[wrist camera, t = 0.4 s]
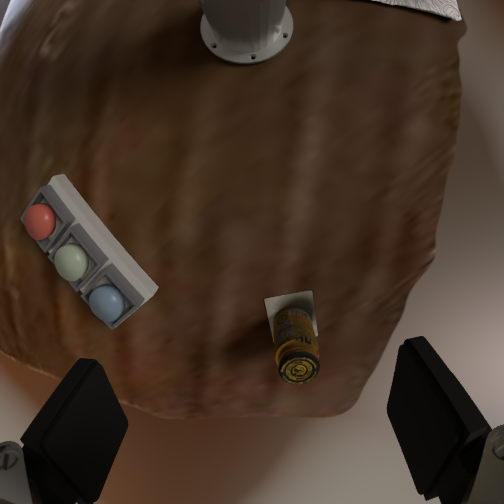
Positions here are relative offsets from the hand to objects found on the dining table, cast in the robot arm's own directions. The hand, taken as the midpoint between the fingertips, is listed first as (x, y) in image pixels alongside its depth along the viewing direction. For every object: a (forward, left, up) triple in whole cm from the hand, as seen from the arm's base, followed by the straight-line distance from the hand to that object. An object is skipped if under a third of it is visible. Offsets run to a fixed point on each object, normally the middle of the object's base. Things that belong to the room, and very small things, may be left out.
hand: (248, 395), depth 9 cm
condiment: (+19, +3, -35) cm, 40 cm away
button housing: (+3, -27, -35) cm, 45 cm away
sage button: (+3, -27, -30) cm, 41 cm away
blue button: (+10, -23, -30) cm, 39 cm away
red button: (-4, -31, -30) cm, 44 cm away
